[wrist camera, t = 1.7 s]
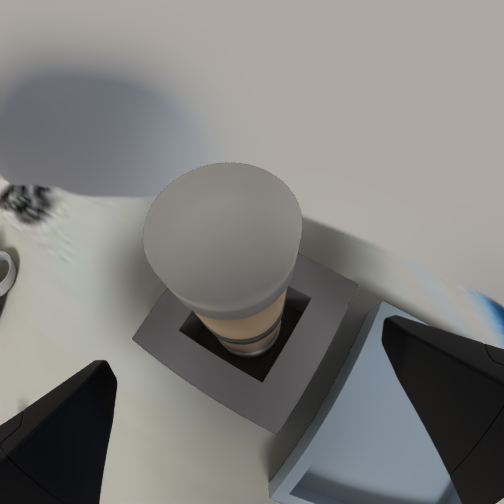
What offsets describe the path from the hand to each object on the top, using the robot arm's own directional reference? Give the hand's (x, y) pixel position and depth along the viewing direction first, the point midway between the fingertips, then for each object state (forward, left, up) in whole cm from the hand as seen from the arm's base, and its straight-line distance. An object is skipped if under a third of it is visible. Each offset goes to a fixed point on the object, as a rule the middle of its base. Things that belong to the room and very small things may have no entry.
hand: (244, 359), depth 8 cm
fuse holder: (+2, -3, -11) cm, 11 cm away
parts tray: (-13, -1, -11) cm, 17 cm away
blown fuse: (+2, -3, -11) cm, 11 cm away
